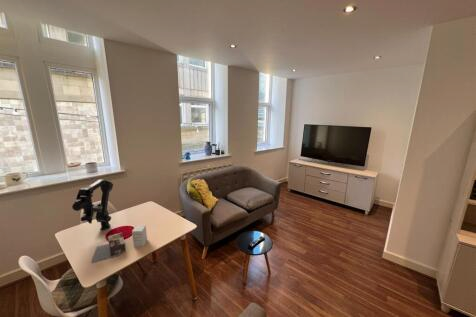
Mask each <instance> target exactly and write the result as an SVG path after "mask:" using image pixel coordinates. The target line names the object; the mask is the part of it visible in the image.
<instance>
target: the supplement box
mask: <svg viewBox="0 0 476 317" xmlns="http://www.w3.org/2000/svg"><path fill="white" fill-rule="evenodd" d="M131 235H132V243H133V247H144V246H145V244H146V243H147V241H148V234H147V226H146V225H136V226H135V227H134V228H133V229H132V231H131Z"/></svg>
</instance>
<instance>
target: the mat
mask: <svg viewBox="0 0 476 317" xmlns="http://www.w3.org/2000/svg"><path fill="white" fill-rule="evenodd" d="M119 255H120V253H119V254H116V255H113V256H111V254H110V248H109V243H107V244H106V243H105V244H101V245H97V246H96V248H95V251H94V254H93V256H92V260H91V263H92V264H93V263H98V262H100V261H105V260H108V259H112V258H115V257H119Z"/></svg>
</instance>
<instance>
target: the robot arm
mask: <svg viewBox="0 0 476 317" xmlns="http://www.w3.org/2000/svg"><path fill="white" fill-rule="evenodd" d="M99 188H100V191H101V192H102V193H101V194H102V195H101V199H100V203H98V204H96V205H95V204H94V203H93V200H92V198H93V197H94V195H93V194H94V191H95V190H97V189H99ZM113 188H114V183H112V182H111V181H110V180H109V181H108V180H106V179H102V178H101V179H98V180H96V181H95V182H93V183H92V184H90V185H88V186H84V187H82V188H80V189H78V192H77V195H76V198H75V200H74V203H73V204H72V209H73V211H75V212H79V211H80V210H83V213H82V214H83V215H81V216H80V222H84V221H85V222H88V224H92V222H93V217H94V215H96V216H95V220H96V221H97V223H100V226H101V227H100V231H103V230H106V229H110V227H111V223H110V222H111V221H112V216H111V215H109V211H108V204H109V197H110V192H111V191H112V190H113Z"/></svg>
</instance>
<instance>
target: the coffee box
mask: <svg viewBox="0 0 476 317" xmlns="http://www.w3.org/2000/svg"><path fill="white" fill-rule="evenodd" d="M107 240H108V244H109V248H110V254H111V256H113V255H116V254H119V255H120V254H122V253H124V252H126V242H125V239H124V235H123V232H119V233H115V234H112V235H109V236H107Z"/></svg>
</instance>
